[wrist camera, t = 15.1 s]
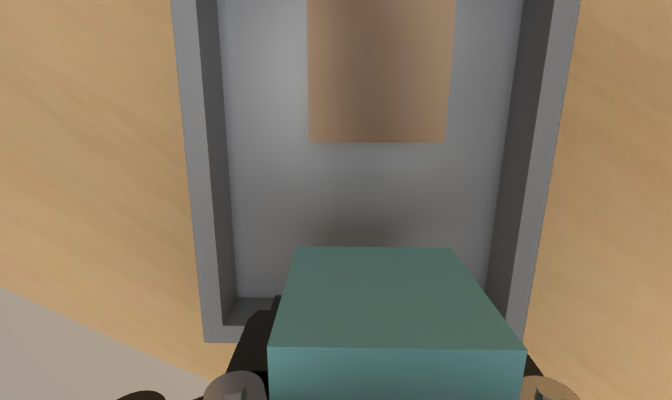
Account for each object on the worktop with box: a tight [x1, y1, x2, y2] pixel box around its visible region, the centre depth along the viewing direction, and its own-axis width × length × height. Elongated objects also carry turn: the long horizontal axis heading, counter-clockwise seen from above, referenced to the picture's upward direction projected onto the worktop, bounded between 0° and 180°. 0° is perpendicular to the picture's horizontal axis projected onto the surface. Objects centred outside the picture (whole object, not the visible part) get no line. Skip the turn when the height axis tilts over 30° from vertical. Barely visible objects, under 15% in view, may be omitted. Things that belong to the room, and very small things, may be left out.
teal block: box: [267, 246, 528, 400], centre depth 10 cm, size 5×5×5 cm
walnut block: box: [307, 0, 456, 143], centre depth 15 cm, size 5×5×5 cm
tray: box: [170, 0, 581, 343], centre depth 18 cm, size 16×18×4 cm
